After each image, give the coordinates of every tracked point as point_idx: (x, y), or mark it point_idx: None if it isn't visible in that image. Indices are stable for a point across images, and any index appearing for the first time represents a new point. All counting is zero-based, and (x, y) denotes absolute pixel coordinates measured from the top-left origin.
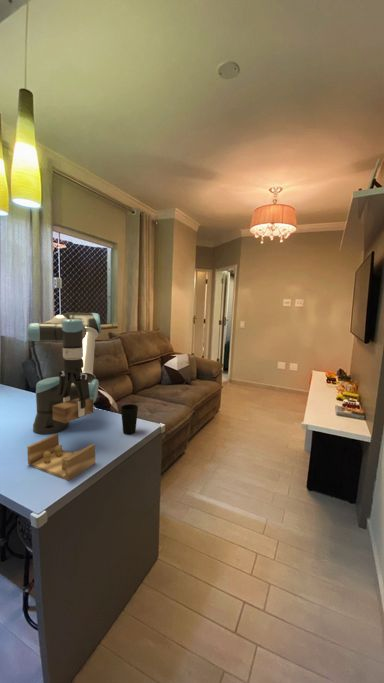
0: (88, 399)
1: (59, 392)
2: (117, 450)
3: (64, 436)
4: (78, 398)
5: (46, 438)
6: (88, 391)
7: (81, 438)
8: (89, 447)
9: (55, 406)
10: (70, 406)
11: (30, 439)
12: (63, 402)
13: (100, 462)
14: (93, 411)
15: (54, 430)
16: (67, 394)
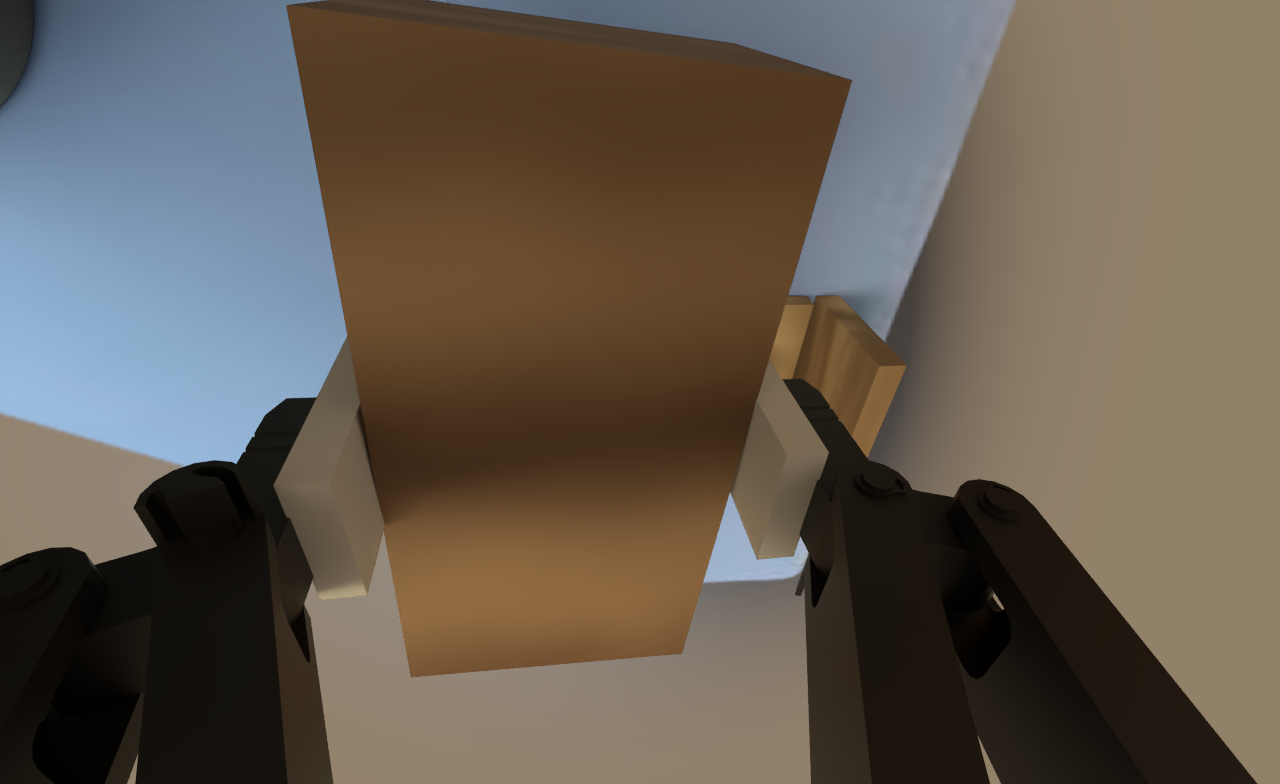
0: (716, 148)
1: (99, 734)
2: (932, 71)
3: (241, 51)
4: (375, 204)
5: None
6: (1123, 652)
7: (458, 3)
8: (883, 405)
9: (481, 670)
10: (682, 587)
11: (40, 270)
12: (387, 544)
13: (868, 275)
14: (738, 45)
15: (9, 38)
16: (269, 568)
